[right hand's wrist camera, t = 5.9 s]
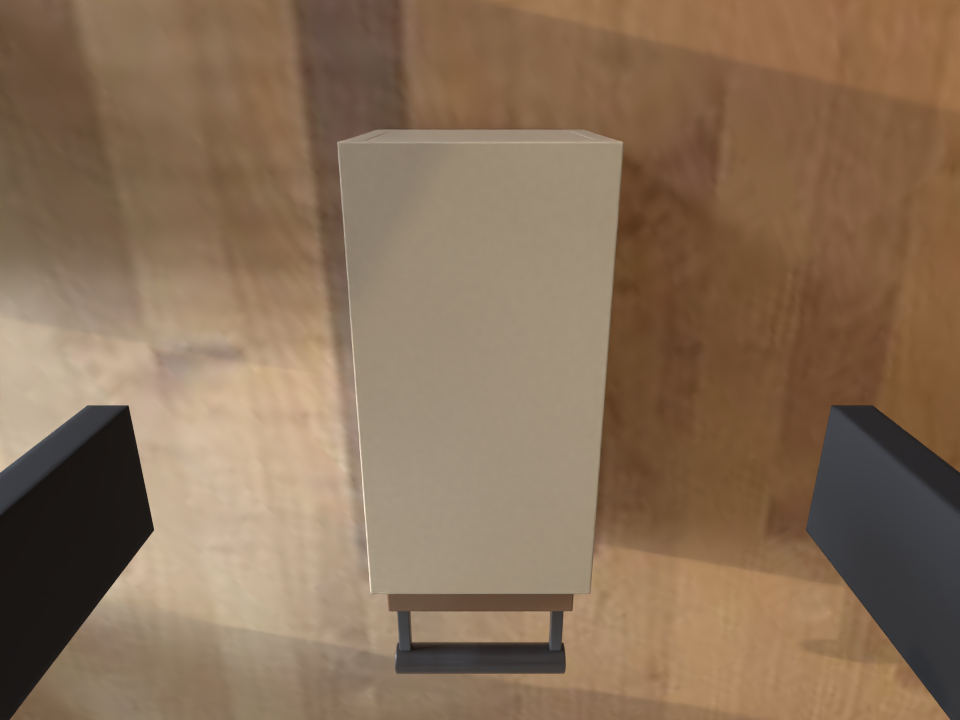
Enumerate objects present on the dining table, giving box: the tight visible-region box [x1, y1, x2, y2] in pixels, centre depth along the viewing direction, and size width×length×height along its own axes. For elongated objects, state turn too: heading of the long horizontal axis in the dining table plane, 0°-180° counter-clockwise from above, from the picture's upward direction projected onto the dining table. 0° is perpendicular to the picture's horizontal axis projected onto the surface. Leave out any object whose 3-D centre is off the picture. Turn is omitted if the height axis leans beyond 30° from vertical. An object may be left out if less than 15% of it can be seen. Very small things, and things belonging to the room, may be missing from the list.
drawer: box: [388, 594, 573, 674], centre depth 33 cm, size 24×9×7 cm, turn 0°
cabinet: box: [338, 130, 624, 594], centre depth 31 cm, size 19×10×9 cm, turn 0°
